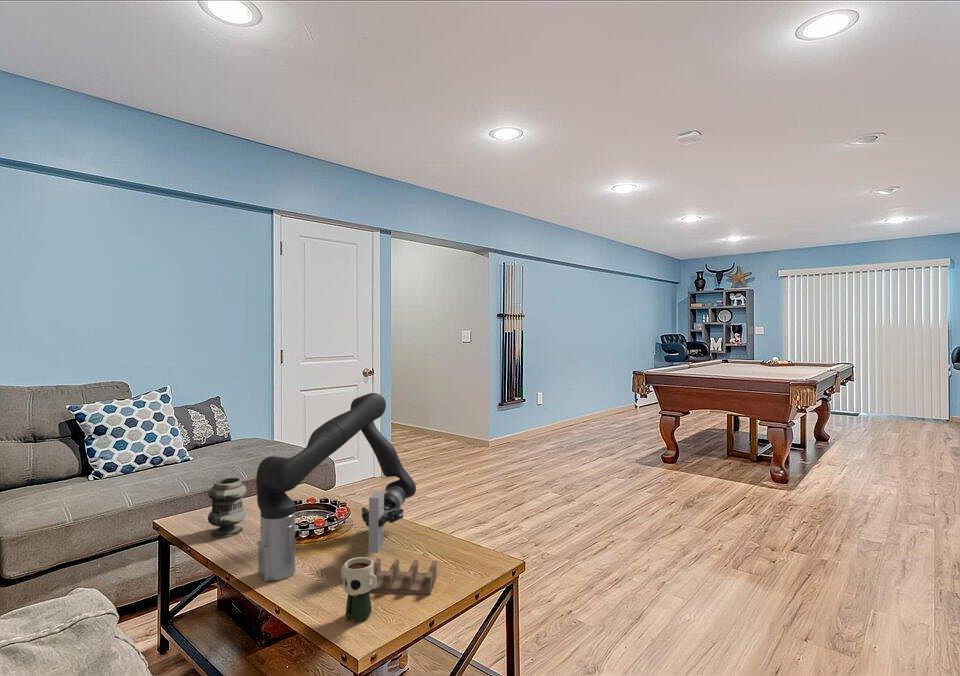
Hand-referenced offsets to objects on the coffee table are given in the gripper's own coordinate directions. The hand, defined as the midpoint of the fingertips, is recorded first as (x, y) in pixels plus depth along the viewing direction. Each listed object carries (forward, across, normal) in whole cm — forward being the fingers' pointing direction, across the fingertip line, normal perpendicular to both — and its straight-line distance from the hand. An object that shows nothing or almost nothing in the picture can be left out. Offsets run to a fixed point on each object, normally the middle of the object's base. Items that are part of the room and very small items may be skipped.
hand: (373, 523), depth 152 cm
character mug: (+25, +4, +14) cm, 28 cm away
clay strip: (-3, 0, +8) cm, 9 cm away
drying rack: (+8, +10, +13) cm, 19 cm away
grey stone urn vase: (-23, -58, +14) cm, 64 cm away
